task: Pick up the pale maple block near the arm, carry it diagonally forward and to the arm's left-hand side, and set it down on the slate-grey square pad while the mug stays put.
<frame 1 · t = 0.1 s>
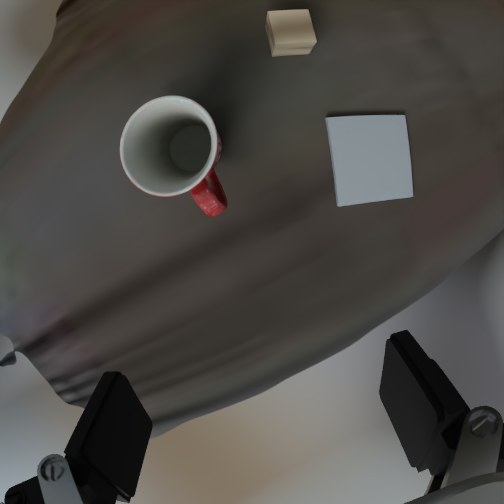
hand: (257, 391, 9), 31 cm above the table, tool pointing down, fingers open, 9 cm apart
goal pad: (372, 158, 36), on the table
maple block: (286, 39, 31), on the table
mug: (200, 159, 36), on the table
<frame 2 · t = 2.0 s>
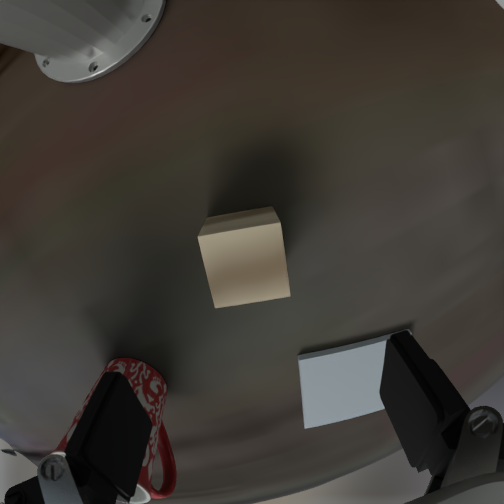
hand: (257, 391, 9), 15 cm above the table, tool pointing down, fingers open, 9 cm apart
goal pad: (353, 382, 29), on the table
maple block: (245, 242, 23), on the table
mug: (145, 389, 28), on the table
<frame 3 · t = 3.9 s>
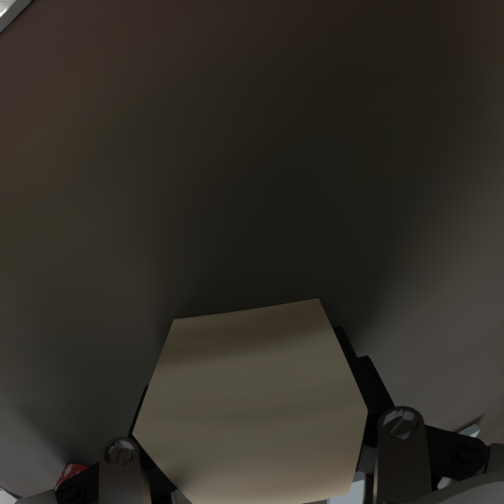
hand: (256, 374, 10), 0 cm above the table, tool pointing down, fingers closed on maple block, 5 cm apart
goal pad: (394, 484, 16), on the table
maple block: (256, 365, 10), on the table, touching gripper
mug: (119, 492, 16), on the table
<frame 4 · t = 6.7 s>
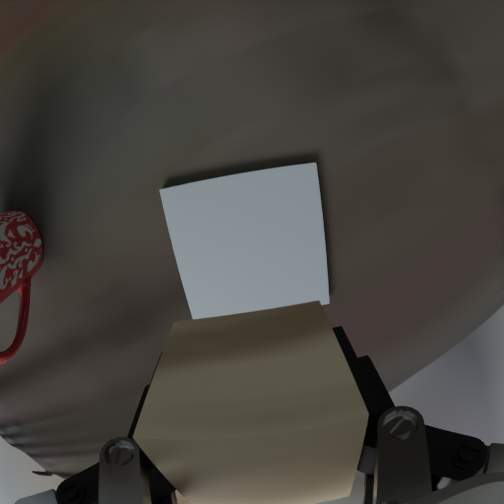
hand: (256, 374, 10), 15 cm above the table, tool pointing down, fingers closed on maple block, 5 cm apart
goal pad: (249, 247, 24), on the table
maple block: (256, 367, 10), point 14 cm above the table, touching gripper
mug: (28, 256, 24), on the table
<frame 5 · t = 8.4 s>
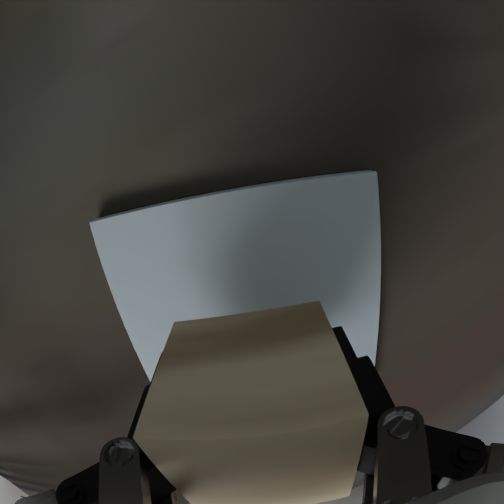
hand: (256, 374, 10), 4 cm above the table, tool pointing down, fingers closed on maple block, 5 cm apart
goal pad: (252, 318, 13), on the table
maple block: (256, 367, 10), point 3 cm above the table, touching gripper
when the fingers open (2 cm above the table, at t = 9.6 s): maple block stays where it is, resting on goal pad.
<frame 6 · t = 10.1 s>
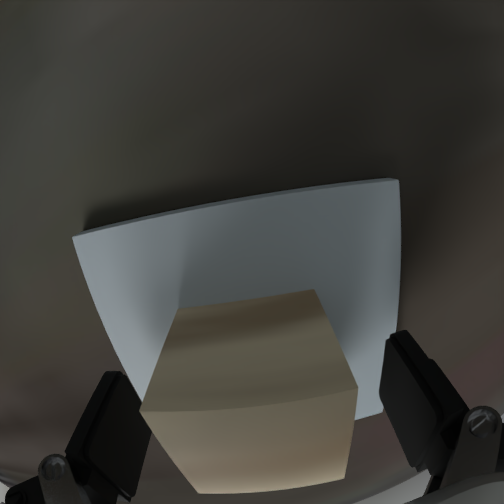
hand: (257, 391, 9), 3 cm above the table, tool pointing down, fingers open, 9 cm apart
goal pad: (255, 342, 12), on the table
maple block: (255, 353, 11), point 1 cm above the table, touching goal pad
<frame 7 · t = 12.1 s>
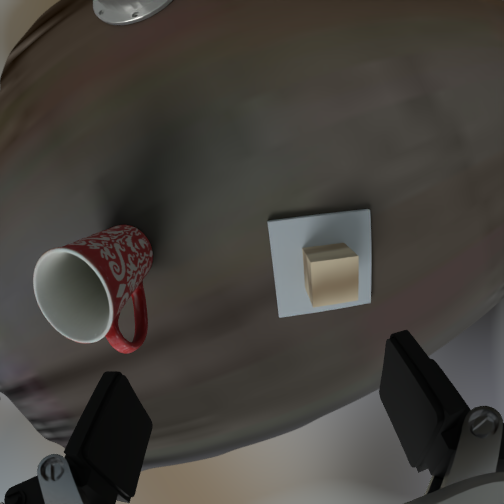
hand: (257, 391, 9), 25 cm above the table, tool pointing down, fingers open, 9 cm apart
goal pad: (323, 263, 34), on the table
maple block: (324, 265, 34), point 1 cm above the table, touching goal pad
mug: (133, 264, 35), on the table
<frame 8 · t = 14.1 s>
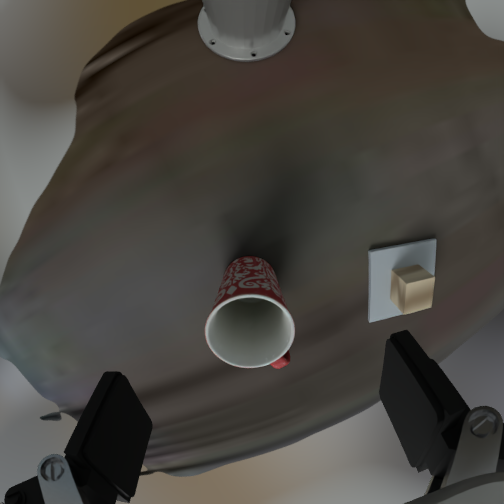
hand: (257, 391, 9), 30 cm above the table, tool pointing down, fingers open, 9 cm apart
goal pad: (402, 279, 42), on the table
maple block: (404, 281, 41), point 1 cm above the table, touching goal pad
mug: (255, 288, 42), on the table
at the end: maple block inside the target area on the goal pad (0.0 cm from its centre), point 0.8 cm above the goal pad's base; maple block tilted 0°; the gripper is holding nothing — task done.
